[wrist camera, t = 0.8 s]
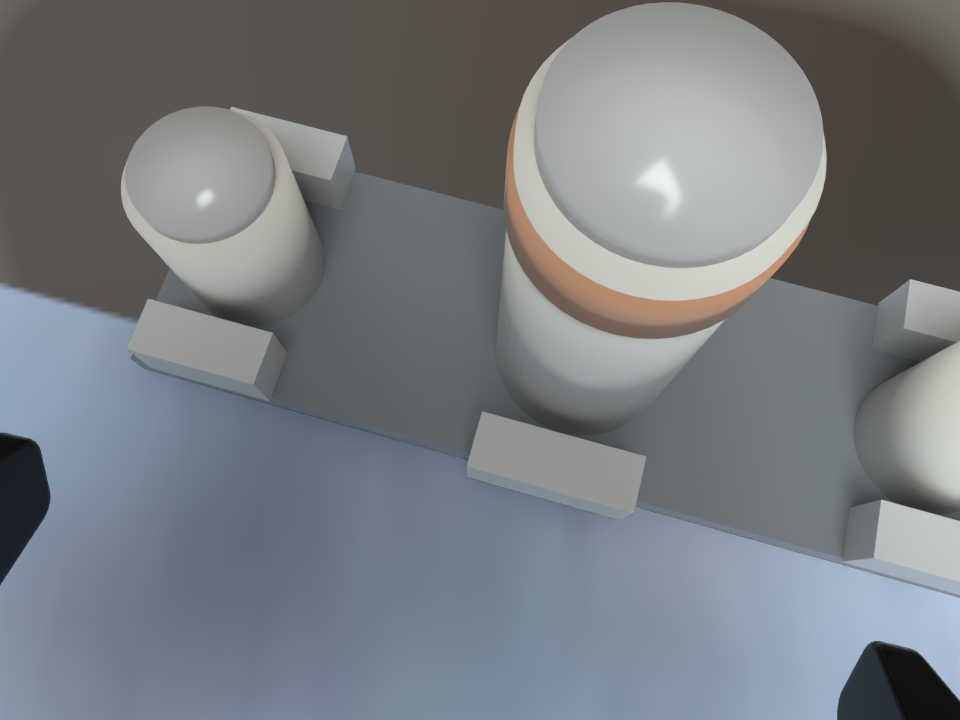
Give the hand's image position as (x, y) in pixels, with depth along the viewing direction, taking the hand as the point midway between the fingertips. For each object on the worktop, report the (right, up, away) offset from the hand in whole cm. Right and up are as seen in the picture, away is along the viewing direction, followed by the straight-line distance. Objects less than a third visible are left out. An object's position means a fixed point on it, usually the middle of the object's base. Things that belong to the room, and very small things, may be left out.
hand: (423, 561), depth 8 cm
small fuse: (-6, +5, +16) cm, 18 cm away
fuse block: (+4, +2, +16) cm, 16 cm away
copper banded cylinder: (+4, +2, +15) cm, 15 cm away
